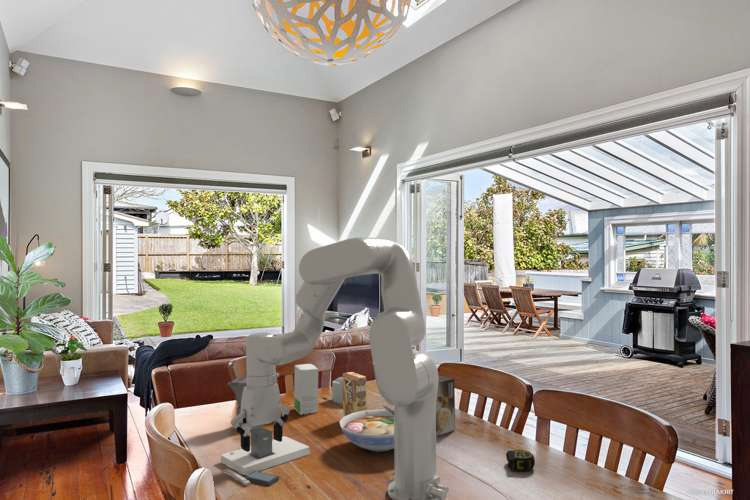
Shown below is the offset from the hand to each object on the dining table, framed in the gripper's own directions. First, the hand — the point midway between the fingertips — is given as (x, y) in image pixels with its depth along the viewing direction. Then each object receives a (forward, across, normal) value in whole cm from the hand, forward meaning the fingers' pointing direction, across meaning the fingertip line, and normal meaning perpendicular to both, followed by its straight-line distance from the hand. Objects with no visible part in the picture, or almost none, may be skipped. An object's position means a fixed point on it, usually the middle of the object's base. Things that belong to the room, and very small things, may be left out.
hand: (262, 445), depth 138 cm
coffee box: (+5, -51, +18) cm, 54 cm away
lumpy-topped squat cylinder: (+4, -54, -27) cm, 61 cm away
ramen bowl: (+5, -29, +15) cm, 33 cm away
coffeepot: (+4, -13, -27) cm, 30 cm away
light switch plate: (+4, -2, -1) cm, 5 cm away
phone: (+4, +6, +10) cm, 12 cm away
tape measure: (+5, -44, +50) cm, 66 cm away
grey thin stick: (+4, +10, +5) cm, 12 cm away
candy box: (+5, -39, -7) cm, 40 cm away
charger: (+4, 0, 0) cm, 4 cm away
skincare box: (+4, -35, -28) cm, 45 cm away
